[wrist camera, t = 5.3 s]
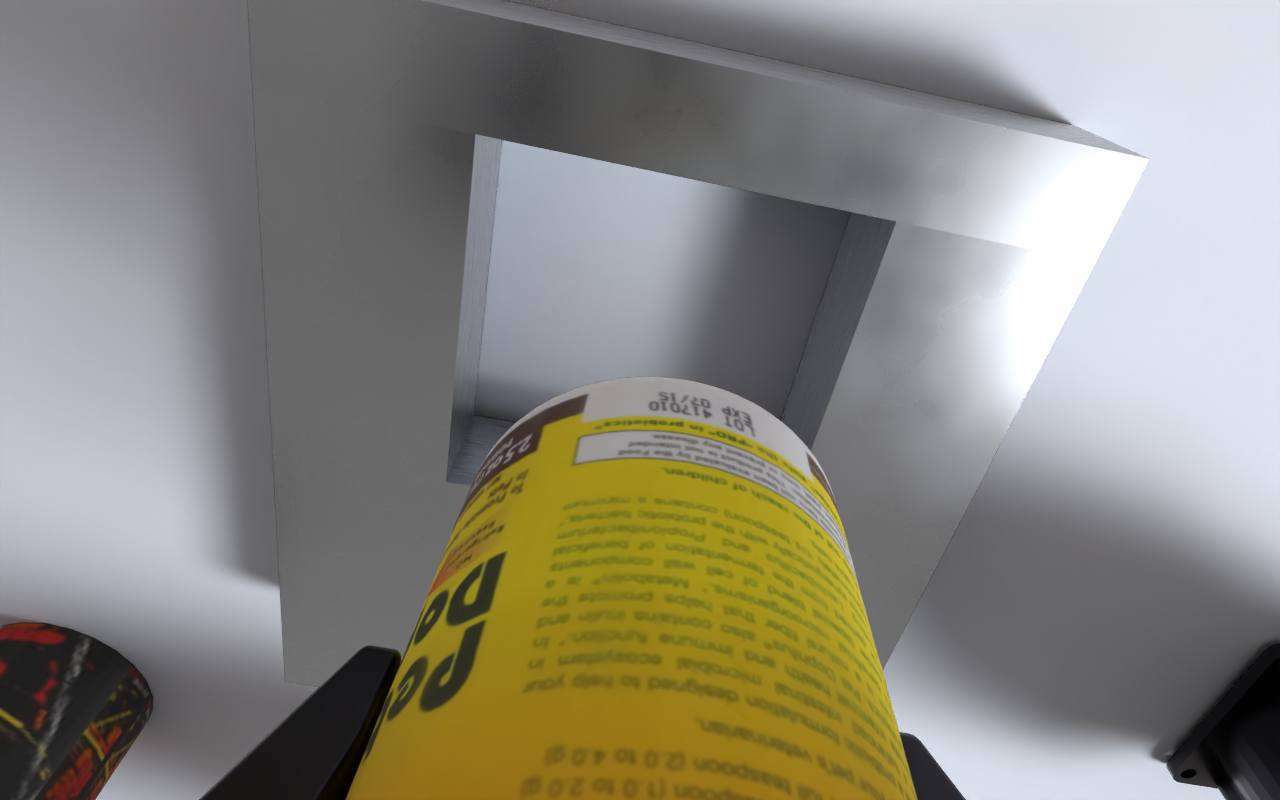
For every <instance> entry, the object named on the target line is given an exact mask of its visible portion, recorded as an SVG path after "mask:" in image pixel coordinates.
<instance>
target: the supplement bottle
mask: <svg viewBox="0 0 1280 800" xmlns="http://www.w3.org/2000/svg"><path fill="white" fill-rule="evenodd" d="M346 800H917V796H916V792H915V788H914V785H913V781H912V777H911V774H910V770H909V767H908V763H907V759H906V756H905V752H904V748H903V744H902V741H901V737H900V734H899V730H898V726H897V722H896V719H895V715H894V712H893V709H892V705H891V701H890V697H889V694H888V690H887V687H886V682H885V677H884V674H883V670H882V667H881V664H880V660H879V657H878V654H877V650H876V647H875V643H874V639H873V636H872V632H871V628H870V625H869V621H868V618H867V614H866V610H865V606H864V603H863V600H862V596H861V593H860V590H859V586H858V582H857V578H856V574H855V570H854V566H853V562H852V558H851V555H850V551H849V547H848V543H847V539H846V535H845V532H844V527H843V523H842V520H841V517H840V515H839V512H838V508H837V504H836V501H835V498H834V495H833V493H832V490H831V487H830V485H829V482H828V480H827V478H826V476H825V474H824V471H823V470H822V468H821V466H820V465H819V463H818V461H817V459H816V458H815V456H814V455H813V454H812V453H811V451H810V450H809V449H808V447H807V446H806V445H805V444H804V443H803V442H802V441H801V439H800V438H799V437H798V436H797V435H796V434H795V433H794V432H793V431H792V430H791V429H790V428H789V427H787V426H786V425H785V424H784V423H783V422H782V421H780V420H779V419H777V418H776V417H775V416H773V415H772V414H771V413H769V412H768V411H766V410H764V409H763V408H761V407H760V406H758V405H756V404H755V403H753V402H751V401H749V400H747V399H744V398H742V397H740V396H738V395H736V394H734V393H731V392H728V391H726V390H723V389H721V388H718V387H714V386H710V385H707V384H703V383H699V382H695V381H690V380H685V379H676V378H667V377H629V378H618V379H612V380H606V381H600V382H596V383H593V384H589V385H585V386H582V387H578V388H575V389H573V390H570V391H568V392H566V393H563V394H561V395H558V396H556V397H554V398H552V399H550V400H549V401H547V402H545V403H543V404H541V405H540V406H538V407H536V408H535V409H533V410H532V411H531V412H529V413H528V414H527V415H525V416H524V417H523V418H521V419H520V420H518V421H517V422H516V423H515V424H514V425H513V426H512V427H511V428H510V429H509V430H508V431H507V432H506V433H505V434H504V435H503V436H502V437H501V438H500V439H499V440H498V442H497V443H496V444H495V445H494V446H493V448H492V449H491V451H490V452H489V454H488V455H487V457H486V458H485V460H484V462H483V463H482V465H481V467H480V468H479V470H478V472H477V474H476V477H475V479H474V481H473V483H472V485H471V488H470V490H469V492H468V495H467V497H466V499H465V502H464V504H463V507H462V509H461V511H460V514H459V516H458V518H457V521H456V523H455V526H454V529H453V532H452V535H451V537H450V540H449V542H448V545H447V547H446V550H445V552H444V555H443V557H442V560H441V562H440V565H439V567H438V570H437V572H436V575H435V577H434V580H433V582H432V585H431V587H430V590H429V592H428V595H427V597H426V600H425V602H424V605H423V607H422V610H421V612H420V615H419V617H418V620H417V622H416V625H415V628H414V630H413V633H412V635H411V638H410V640H409V642H408V645H407V647H406V650H405V652H404V655H403V657H402V659H401V662H400V665H399V667H398V670H397V673H396V675H395V678H394V681H393V684H392V686H391V689H390V691H389V693H388V696H387V698H386V701H385V703H384V706H383V708H382V711H381V713H380V716H379V718H378V720H377V723H376V725H375V728H374V730H373V733H372V735H371V738H370V740H369V743H368V745H367V748H366V750H365V753H364V755H363V757H362V760H361V762H360V765H359V767H358V770H357V772H356V775H355V777H354V779H353V782H352V785H351V787H350V790H349V792H348V795H347V797H346Z"/></svg>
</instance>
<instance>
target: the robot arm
mask: <svg viewBox="0 0 1280 800" xmlns="http://www.w3.org/2000/svg"><path fill="white" fill-rule="evenodd" d="M400 662H401V654H400V652H399V651H398V650H396V649H391V648H385V647H378V646H372V645H368V646H365V647H363V648H361V649H360V650H359V651H358V652H356V653H355V654H354V655H353V656H352V657H351V658H350V659H349V660H348V661H347V662H346V663H345V664H344V665H343V666H341V667H340V668H339V669H338V670H337V671H336V672H335V673H334V674H333V675H332V676H331V677H330V678H329V679H328V680H327V681H325V682H324V683H323V684H322V685H321V686H320V687H319V688H318V689H317V690H316V691H315V692H314V693H313V694H312V695H310V696H309V697H308V698H307V699H306V700H305V701H304V702H303V703H302V704H301V705H300V706H299V707H298V708H297V709H296V710H294V711H293V712H292V713H291V714H290V715H289V716H288V717H287V718H286V719H285V720H284V721H283V722H282V723H281V724H280V725H278V726H277V727H276V728H275V729H274V730H273V731H272V732H271V733H270V734H269V735H268V736H267V737H266V738H265V739H263V740H262V741H261V742H260V743H259V744H258V745H257V746H256V747H255V748H254V749H253V750H252V751H251V752H250V753H249V754H247V755H246V756H245V757H244V758H243V759H242V760H241V761H240V762H239V763H238V764H237V765H236V766H235V767H234V768H233V769H231V770H230V771H229V772H228V773H227V774H226V775H225V776H224V777H223V778H222V779H221V780H220V781H219V782H218V783H216V784H215V785H214V786H213V787H212V788H211V789H210V790H209V791H208V792H207V793H206V794H205V795H204V796H203V797H202V798H200V799H199V800H346V797H347V795H348V792H349V790H350V787H351V785H352V782H353V779H354V777H355V775H356V772H357V770H358V767H359V765H360V762H361V760H362V757H363V755H364V753H365V750H366V748H367V745H368V743H369V740H370V738H371V735H372V733H373V730H374V728H375V725H376V723H377V720H378V718H379V716H380V713H381V711H382V708H383V706H384V703H385V701H386V698H387V696H388V693H389V691H390V689H391V686H392V684H393V681H394V678H395V675H396V673H397V670H398V667H399V665H400ZM899 734H900V737H901V741H902V744H903V748H904V752H905V756H906V759H907V763H908V767H909V770H910V774H911V777H912V781H913V785H914V788H915V792H916V796H917V800H966V799H965V798H964V797H963V796H962V794H961V793H960V792H959V790H958V789H957V788H956V786H955V785H954V784H953V783H952V781H951V780H950V779H949V777H948V776H947V775H946V773H945V772H944V771H943V770H942V768H941V767H940V766H939V764H938V763H937V762H936V761H935V759H934V758H933V757H932V755H931V754H930V753H929V751H928V750H927V749H926V748H925V746H924V745H923V744H922V742H921V741H920V740H919V739H918V738H916V737H915V736H914V735H911V734H908V733H902V732H899ZM1167 769H1168V770H1169V772H1170V774H1171V775H1172V777H1173V779H1174V780H1176V781H1177V782H1180V783H1186V784H1193V785H1199V786H1205V787H1212V788H1218V789H1219V790H1220V792H1221V793H1222V795H1223V796H1224V798H1225V799H1226V800H1280V644H1276V645H1273V646H1271V647H1269V648H1268V649H1267V650H1265V651H1264V652H1263V653H1262V654H1261V656H1260V657H1259V658H1258V659H1257V660H1256V661H1255V662H1254V664H1253V665H1252V666H1251V667H1250V668H1249V669H1248V670H1247V672H1246V673H1245V674H1244V675H1243V676H1242V677H1241V678H1240V680H1239V681H1238V682H1237V683H1236V684H1235V685H1234V687H1233V688H1232V689H1231V690H1230V691H1229V692H1228V693H1227V695H1226V696H1225V697H1224V698H1223V699H1222V700H1221V701H1220V703H1219V704H1218V705H1217V706H1216V707H1215V708H1214V709H1213V711H1212V712H1211V713H1210V714H1209V715H1208V716H1207V717H1206V719H1205V720H1204V721H1203V722H1202V723H1201V724H1200V725H1199V727H1198V728H1197V729H1196V730H1195V731H1194V732H1193V733H1192V735H1191V736H1190V737H1189V738H1188V739H1187V740H1186V741H1185V743H1184V744H1183V745H1182V746H1181V747H1180V748H1179V749H1178V751H1177V752H1176V753H1175V754H1174V755H1173V756H1172V757H1171V759H1170V760H1169V761H1168V763H1167Z"/></svg>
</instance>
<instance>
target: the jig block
mask: <svg viewBox="0 0 1280 800" xmlns="http://www.w3.org/2000/svg"><path fill="white" fill-rule="evenodd" d="M247 1H248V19H249V37H250V55H251V74H252V92H253V110H254V128H255V146H256V165H257V183H258V201H259V219H260V237H261V256H262V274H263V292H264V310H265V328H266V347H267V365H268V383H269V401H270V419H271V438H272V456H273V474H274V492H275V510H276V529H277V547H278V565H279V583H280V601H281V620H282V638H283V656H284V674H285V682H290V683H297V684H303V685H310V686H316V687H320V686H321V685H322V684H323V683H324V682H325V681H327V680H328V679H329V678H330V677H331V676H332V675H333V674H334V673H335V672H336V671H337V670H338V669H339V668H340V667H341V666H343V665H344V664H345V663H346V662H347V661H348V660H349V659H350V658H351V657H352V656H353V655H354V654H355V653H356V652H358V651H359V650H360V649H361V648H363V647H365V646H368V645H372V646H378V647H385V648H391V649H396V650H398V651H399V652H400V654H401V659H402V657H403V655H404V652H405V650H406V647H407V645H408V642H409V640H410V638H411V635H412V633H413V630H414V628H415V625H416V622H417V620H418V617H419V615H420V612H421V610H422V607H423V605H424V602H425V600H426V597H427V595H428V592H429V590H430V587H431V585H432V582H433V580H434V577H435V575H436V572H437V570H438V567H439V565H440V562H441V560H442V557H443V555H444V552H445V550H446V547H447V545H448V542H449V540H450V537H451V535H452V532H453V529H454V526H455V523H456V521H457V518H458V516H459V514H460V511H461V509H462V507H463V504H464V502H465V499H466V497H467V495H468V492H469V490H470V488H471V485H472V483H473V481H474V479H475V477H476V474H477V472H478V470H479V468H480V467H481V465H482V463H483V462H484V460H485V458H486V457H487V455H488V454H489V452H490V451H491V449H492V448H493V446H494V445H495V444H496V443H497V442H498V440H499V439H500V438H501V437H502V436H503V435H504V434H505V433H506V432H507V431H508V430H509V429H510V428H511V427H512V426H513V425H514V424H515V423H516V422H510V421H505V420H499V419H494V418H488V417H483V416H477V415H474V407H475V398H476V388H477V378H478V368H479V359H480V349H481V339H482V329H483V320H484V310H485V300H486V290H487V280H488V271H489V261H490V251H491V241H492V232H493V222H494V212H495V202H496V193H497V183H498V173H499V163H500V154H501V144H502V140H506V141H510V142H515V143H520V144H525V145H530V146H535V147H539V148H544V149H549V150H554V151H559V152H564V153H568V154H573V155H578V156H583V157H588V158H592V159H597V160H602V161H607V162H612V163H617V164H621V165H626V166H631V167H636V168H641V169H646V170H650V171H655V172H660V173H665V174H670V175H674V176H679V177H684V178H689V179H694V180H699V181H703V182H708V183H713V184H718V185H723V186H728V187H732V188H737V189H742V190H747V191H752V192H757V193H761V194H766V195H771V196H776V197H781V198H785V199H790V200H795V201H800V202H805V203H810V204H814V205H819V206H824V207H829V208H834V209H839V210H843V211H848V212H851V215H850V218H849V221H848V224H847V227H846V230H845V233H844V236H843V239H842V242H841V245H840V248H839V251H838V253H837V256H836V259H835V262H834V265H833V268H832V271H831V274H830V277H829V280H828V283H827V286H826V289H825V292H824V295H823V297H822V300H821V303H820V306H819V309H818V312H817V315H816V318H815V321H814V324H813V327H812V330H811V333H810V336H809V338H808V341H807V344H806V347H805V350H804V353H803V356H802V359H801V362H800V365H799V368H798V371H797V374H796V377H795V380H794V382H793V385H792V388H791V391H790V394H789V397H788V400H787V403H786V406H785V409H784V412H783V415H782V418H781V421H782V422H783V423H784V424H785V425H786V426H787V427H789V428H790V429H791V430H792V431H793V432H794V433H795V434H796V435H797V436H798V437H799V438H800V439H801V441H802V442H803V443H804V444H805V445H806V446H807V447H808V449H809V450H810V451H811V453H812V454H813V455H814V456H815V458H816V459H817V461H818V463H819V465H820V466H821V468H822V470H823V471H824V474H825V476H826V478H827V480H828V482H829V485H830V487H831V490H832V493H833V495H834V498H835V501H836V504H837V508H838V512H839V515H840V517H841V520H842V523H843V527H844V532H845V535H846V539H847V543H848V547H849V551H850V555H851V558H852V562H853V566H854V570H855V574H856V578H857V582H858V586H859V590H860V593H861V596H862V600H863V603H864V606H865V610H866V614H867V618H868V621H869V625H870V628H871V632H872V636H873V639H874V643H875V647H876V650H877V654H878V657H879V660H880V664H881V667H882V670H883V669H884V667H885V665H886V663H887V661H888V659H889V657H890V655H891V653H892V651H893V649H894V647H895V646H896V644H897V642H898V640H899V638H900V636H901V634H902V632H903V630H904V628H905V626H906V624H907V623H908V621H909V619H910V617H911V615H912V613H913V611H914V609H915V607H916V605H917V603H918V601H919V600H920V598H921V596H922V594H923V592H924V590H925V588H926V586H927V584H928V582H929V580H930V578H931V577H932V575H933V573H934V571H935V569H936V567H937V565H938V563H939V561H940V559H941V557H942V555H943V554H944V552H945V550H946V548H947V546H948V544H949V542H950V540H951V538H952V536H953V534H954V532H955V531H956V529H957V527H958V525H959V523H960V521H961V519H962V517H963V515H964V513H965V511H966V509H967V508H968V506H969V504H970V502H971V500H972V498H973V496H974V494H975V492H976V490H977V488H978V486H979V485H980V483H981V481H982V479H983V477H984V475H985V473H986V471H987V469H988V467H989V465H990V463H991V462H992V460H993V458H994V456H995V454H996V452H997V450H998V448H999V446H1000V444H1001V442H1002V440H1003V439H1004V437H1005V435H1006V433H1007V431H1008V429H1009V427H1010V425H1011V423H1012V421H1013V419H1014V417H1015V416H1016V414H1017V412H1018V410H1019V408H1020V406H1021V404H1022V402H1023V400H1024V398H1025V396H1026V394H1027V393H1028V391H1029V389H1030V387H1031V385H1032V383H1033V381H1034V379H1035V377H1036V375H1037V373H1038V371H1039V370H1040V368H1041V366H1042V364H1043V362H1044V360H1045V358H1046V356H1047V354H1048V352H1049V350H1050V348H1051V347H1052V345H1053V343H1054V341H1055V339H1056V337H1057V335H1058V333H1059V331H1060V329H1061V327H1062V325H1063V324H1064V322H1065V320H1066V318H1067V316H1068V314H1069V312H1070V310H1071V308H1072V306H1073V304H1074V302H1075V301H1076V299H1077V297H1078V295H1079V293H1080V291H1081V289H1082V287H1083V285H1084V283H1085V281H1086V279H1087V278H1088V276H1089V274H1090V272H1091V270H1092V268H1093V266H1094V264H1095V262H1096V260H1097V258H1098V256H1099V255H1100V253H1101V251H1102V249H1103V247H1104V245H1105V243H1106V241H1107V239H1108V237H1109V235H1110V233H1111V232H1112V230H1113V228H1114V226H1115V224H1116V222H1117V220H1118V218H1119V216H1120V214H1121V212H1122V210H1123V209H1124V207H1125V205H1126V203H1127V201H1128V199H1129V197H1130V195H1131V193H1132V191H1133V189H1134V187H1135V186H1136V184H1137V182H1138V180H1139V178H1140V176H1141V174H1142V172H1143V170H1144V168H1145V166H1146V164H1147V163H1148V161H1149V159H1148V158H1146V157H1144V156H1141V155H1139V154H1137V153H1135V152H1132V151H1130V150H1128V149H1126V148H1123V147H1121V146H1119V145H1117V144H1114V143H1112V142H1110V141H1108V140H1106V139H1103V138H1101V137H1099V136H1097V135H1094V134H1092V133H1090V132H1088V131H1085V130H1083V129H1081V128H1079V127H1076V126H1074V125H1070V124H1065V123H1060V122H1056V121H1051V120H1047V119H1042V118H1038V117H1033V116H1029V115H1024V114H1020V113H1015V112H1010V111H1006V110H1001V109H997V108H992V107H988V106H983V105H979V104H974V103H970V102H965V101H960V100H956V99H951V98H947V97H942V96H938V95H933V94H929V93H924V92H919V91H915V90H910V89H906V88H901V87H897V86H892V85H888V84H883V83H879V82H874V81H869V80H865V79H860V78H856V77H851V76H847V75H842V74H838V73H833V72H829V71H824V70H819V69H815V68H810V67H806V66H801V65H797V64H792V63H788V62H783V61H779V60H774V59H769V58H765V57H760V56H756V55H751V54H747V53H742V52H738V51H733V50H729V49H724V48H719V47H715V46H710V45H706V44H701V43H697V42H692V41H688V40H683V39H678V38H674V37H669V36H665V35H660V34H656V33H651V32H647V31H642V30H638V29H633V28H628V27H624V26H619V25H615V24H610V23H606V22H601V21H597V20H592V19H588V18H583V17H578V16H574V15H569V14H565V13H560V12H556V11H551V10H547V9H542V8H538V7H533V6H528V5H524V4H519V3H515V2H510V1H506V0H247Z"/></svg>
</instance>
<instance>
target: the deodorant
mask: <svg viewBox="0 0 1280 800" xmlns="http://www.w3.org/2000/svg"><path fill="white" fill-rule="evenodd" d="M152 710H153V705H152V694H151V692H150V689H149V687H148V685H147V682H146V680H145V679H144V678H143V677H142V675H141V674H140V673H139V672H138V670H137V669H136V668H135V667H134V665H132V664H131V663H130V662H129V661H127V660H126V659H125V658H124V657H123V656H121V655H120V654H119V653H118V652H117V651H115V650H113V649H112V648H110V647H108V646H106V645H105V644H103V643H101V642H99V641H98V640H96V639H94V638H91V637H89V636H86V635H84V634H81V633H78V632H76V631H73V630H71V629H66V628H62V627H57V626H53V625H48V624H39V623H17V624H11V625H5V626H1V627H0V800H95V799H96V798H97V796H98V795H99V793H100V792H101V790H102V789H103V787H104V786H105V784H106V783H107V781H108V780H109V778H110V777H111V775H112V774H113V772H114V771H115V769H116V768H117V766H118V765H119V763H120V762H121V760H122V759H123V757H124V756H125V754H126V753H127V751H128V750H129V748H130V747H131V745H132V744H133V742H134V741H135V739H136V738H137V736H138V735H139V733H140V732H141V730H142V729H143V727H144V726H145V724H146V723H147V721H148V719H149V717H150V715H151V712H152Z"/></svg>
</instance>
